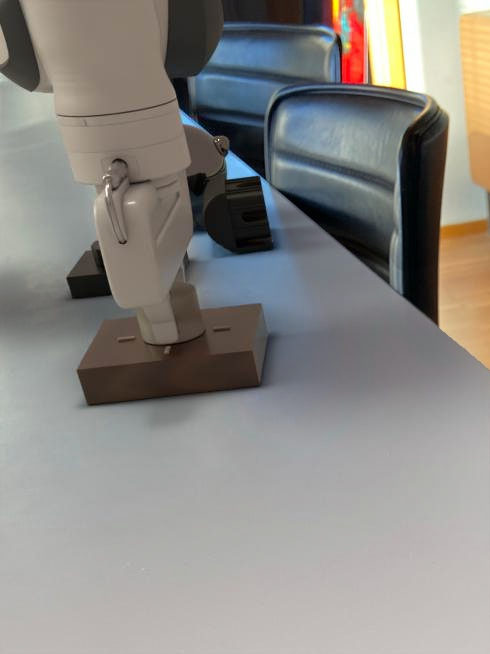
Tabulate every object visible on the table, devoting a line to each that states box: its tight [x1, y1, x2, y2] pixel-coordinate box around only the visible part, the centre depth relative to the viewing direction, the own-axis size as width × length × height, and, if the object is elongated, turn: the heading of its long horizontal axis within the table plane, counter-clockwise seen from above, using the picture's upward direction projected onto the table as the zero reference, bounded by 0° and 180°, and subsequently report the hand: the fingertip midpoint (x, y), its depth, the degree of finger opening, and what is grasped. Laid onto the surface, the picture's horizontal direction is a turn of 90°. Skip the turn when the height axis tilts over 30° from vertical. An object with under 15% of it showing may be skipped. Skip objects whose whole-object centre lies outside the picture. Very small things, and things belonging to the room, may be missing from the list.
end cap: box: [203, 173, 274, 254], centre depth 117 cm, size 10×7×7 cm
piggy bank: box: [183, 123, 230, 230], centre depth 124 cm, size 11×15×12 cm
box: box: [65, 239, 190, 299], centre depth 109 cm, size 11×10×4 cm
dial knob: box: [133, 282, 205, 345], centre depth 85 cm, size 5×5×4 cm
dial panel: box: [75, 302, 269, 406], centre depth 87 cm, size 14×12×3 cm
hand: (174, 326), depth 85 cm, fingers closed on dial knob, 5 cm apart
